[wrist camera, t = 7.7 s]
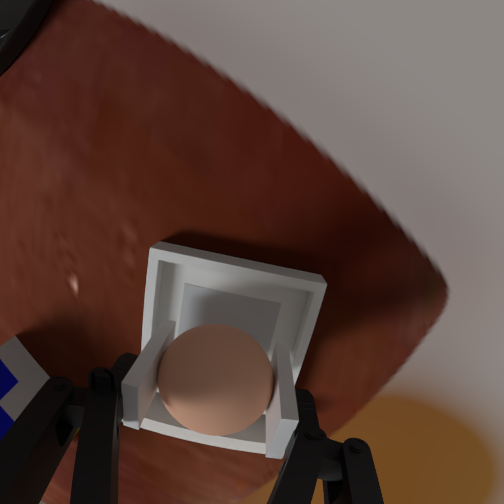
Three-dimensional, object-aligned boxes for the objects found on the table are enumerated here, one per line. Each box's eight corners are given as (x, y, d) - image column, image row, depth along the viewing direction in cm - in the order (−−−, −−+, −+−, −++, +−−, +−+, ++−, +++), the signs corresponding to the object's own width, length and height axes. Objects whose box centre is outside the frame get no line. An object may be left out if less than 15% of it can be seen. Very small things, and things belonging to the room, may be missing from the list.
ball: (180, 295, 17) (143, 346, 12) (283, 318, 17) (291, 379, 12) (170, 378, 19) (141, 440, 13) (260, 398, 19) (258, 466, 13)
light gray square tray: (159, 241, 19) (150, 247, 17) (321, 274, 19) (327, 284, 17) (147, 373, 21) (140, 387, 19) (281, 401, 21) (282, 416, 20)
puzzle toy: (15, 334, 21) (-53, 389, 12) (88, 415, 23) (41, 489, 13) (-10, 373, 23) (-60, 419, 13) (49, 438, 25) (11, 495, 15)
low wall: (130, 380, 21) (114, 408, 18) (282, 413, 22) (284, 445, 18) (130, 391, 22) (115, 419, 18) (278, 423, 22) (280, 455, 19)
